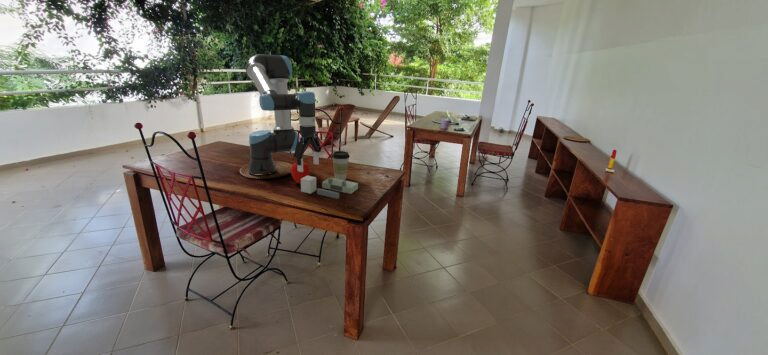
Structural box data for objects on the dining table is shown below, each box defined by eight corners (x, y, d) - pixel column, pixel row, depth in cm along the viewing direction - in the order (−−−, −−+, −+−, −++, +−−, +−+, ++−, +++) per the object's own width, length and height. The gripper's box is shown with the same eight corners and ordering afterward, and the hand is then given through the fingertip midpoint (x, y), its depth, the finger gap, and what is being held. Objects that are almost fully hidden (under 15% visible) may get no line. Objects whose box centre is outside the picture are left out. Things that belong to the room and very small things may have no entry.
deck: (312, 193, 166) (312, 182, 164) (329, 182, 180) (330, 173, 178) (342, 200, 160) (342, 189, 158) (357, 188, 175) (358, 178, 173)
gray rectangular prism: (301, 191, 167) (300, 178, 164) (307, 188, 172) (307, 175, 169) (310, 193, 165) (310, 180, 163) (316, 190, 170) (316, 177, 167)
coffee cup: (346, 182, 182) (346, 156, 177) (329, 180, 184) (329, 154, 179) (351, 176, 191) (351, 151, 186) (335, 174, 193) (335, 150, 188)
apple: (288, 181, 179) (287, 160, 175) (305, 178, 184) (304, 157, 180) (295, 187, 171) (294, 165, 167) (312, 184, 177) (312, 162, 173)
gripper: (298, 130, 145) (299, 175, 151) (328, 122, 167) (328, 162, 173) (284, 128, 147) (286, 173, 154) (315, 120, 169) (316, 160, 176)
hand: (308, 167), depth 164 cm, fingers open, 13 cm apart
